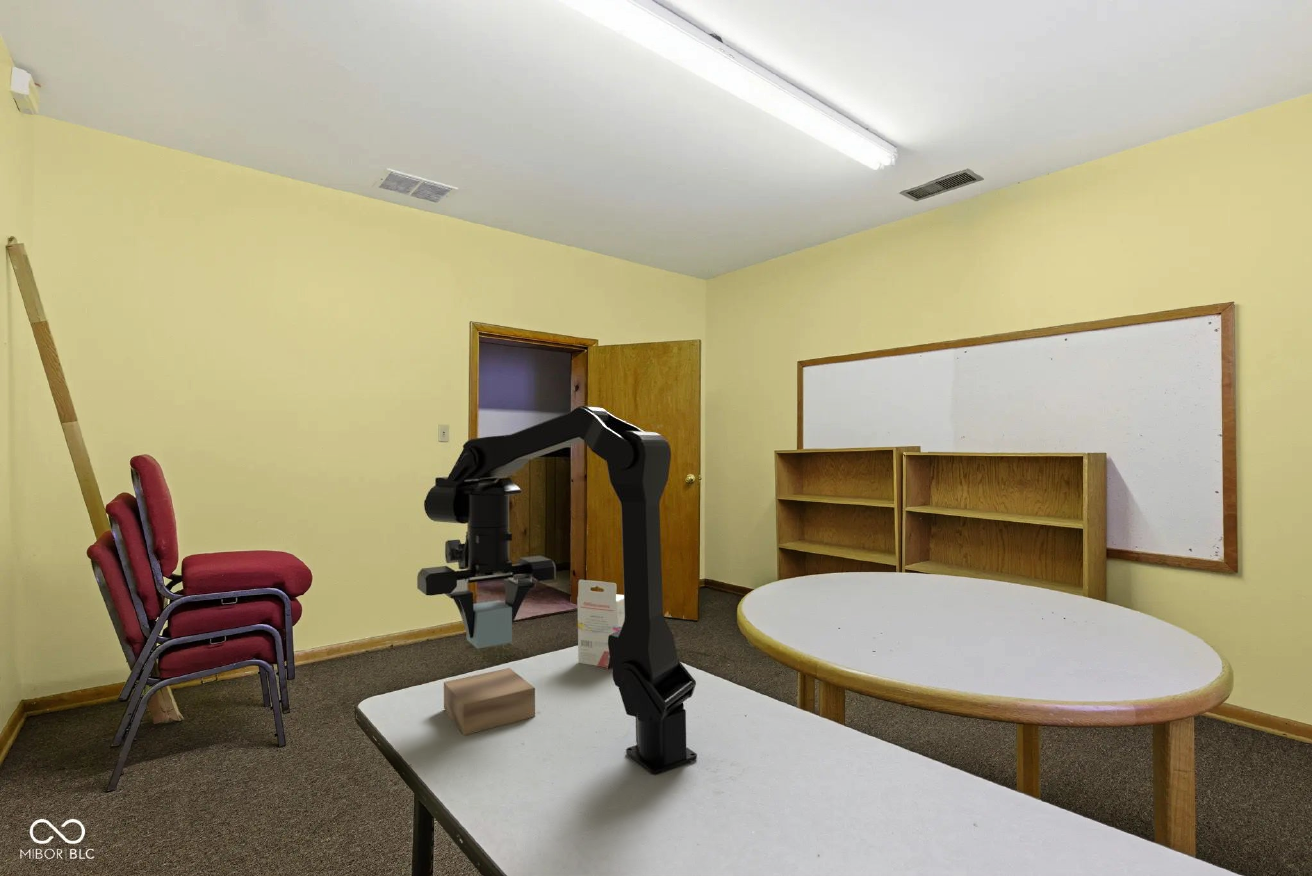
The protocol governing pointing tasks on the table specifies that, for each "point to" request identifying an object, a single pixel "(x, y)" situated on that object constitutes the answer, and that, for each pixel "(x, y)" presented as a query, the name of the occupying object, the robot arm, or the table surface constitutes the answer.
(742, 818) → the table surface
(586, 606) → the ink cartridge box
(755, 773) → the table surface
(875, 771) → the table surface
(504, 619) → the slate block
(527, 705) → the walnut block
